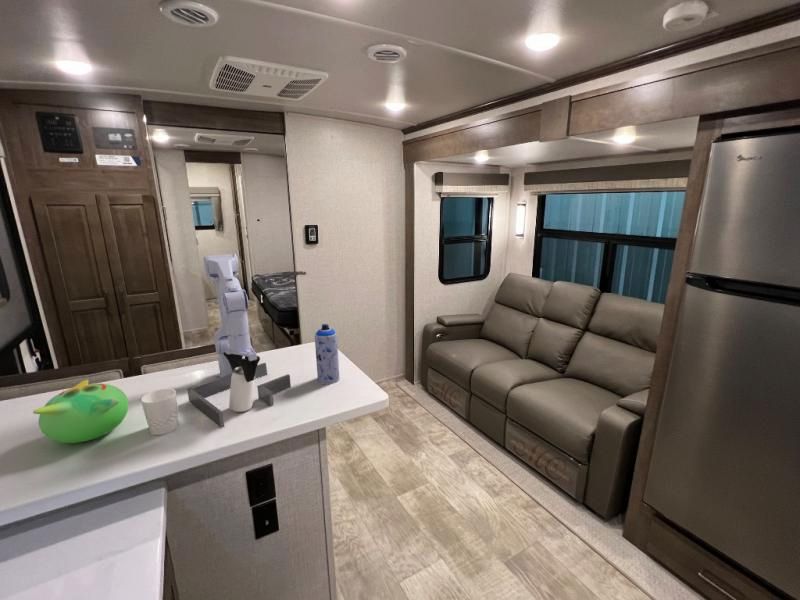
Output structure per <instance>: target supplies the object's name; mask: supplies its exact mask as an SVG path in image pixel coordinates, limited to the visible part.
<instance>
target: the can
mask: <svg viewBox="0 0 800 600" xmlns="http://www.w3.org/2000/svg"><path fill="white" fill-rule="evenodd" d="M255 380H256V379H255V378H254V380H253V381H250V382H247V381H246V379H245V376H244V372H243V369H242V367H241V366H240V367H237V368H235V369H234V372H233V373H232V377H231V388H230V389H229V402H228V403H229V404H228V407H229V409H230V410H231V411H233V412H235V413H244V412H247V411H249V410H250V409H252V407H253V405H254V404H253V403H254V394H255Z"/></svg>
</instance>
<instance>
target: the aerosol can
mask: <svg viewBox="0 0 800 600" xmlns="http://www.w3.org/2000/svg"><path fill="white" fill-rule="evenodd" d="M338 345H339V343H338V333H337V332H336V331H335V330H334V329H333V328H331V327H330V326H329V324H326V323H324V324H322V325H321V327H320V328H319V329H318V330H317V331H316V332H315V334H314V346H315V347H314V348H315V359H316V360H315V361H316V362H315V363H316V374H317V379H316V381H317V382H318V383H319V384H321V385H332V384H333V385H334V384H335V383H337V382H339V381H340V379H341V376H340V364H339V363H340V362H339V347H338Z"/></svg>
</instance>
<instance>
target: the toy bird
mask: <svg viewBox="0 0 800 600" xmlns="http://www.w3.org/2000/svg"><path fill="white" fill-rule="evenodd" d="M128 411H129V400H128V397H127V395H126V394H125V392H124V391H123V390H122V389H120V388H119V387H117V386H115V385H113V384H112V385H111V384H109V383H108V384H107V383H99V382H98V383H97V382H96V383H89V379H85V380H82V381H80V382H79V383H77V384H76V385H75V386H73V387H71V388H68V389H66V390H63V391H61V392H60V393H58V394H56V395H55V396H53V397H52V398H51V399H50V400H48V401H47V402H46V403H45V405H44V406H42V407H40V408H37V409H34V410H33V411H32V413H33V414H35V415H39V416H38V427H39V429H40V431H41V432H42V434H43V435H44V436H45V437H46V438H47V439H50V440H52V441H54V442H56V443H63V444H77V443H83V442H88V441H92V440H95V439H97V438H99V437H102V436H104V435H106V434H108V433H109V432H112V431H113V430H114V429H116V428H117V427H118V426H119V425H120V424H121V423H122V422H123V421H124V420H125V418H126V416H127V414H128Z"/></svg>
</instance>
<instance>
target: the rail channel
mask: <svg viewBox="0 0 800 600" xmlns="http://www.w3.org/2000/svg"><path fill="white" fill-rule="evenodd" d="M265 375H266V376H267V375H268V370H267V363H266V362H262V363H260V364H259V363H258V365H257V367H256V372H255V380H257V379H259V378H258V377H260V378H263V377H265ZM262 376H263V377H262ZM231 377H232V374H230V375H227V376H224V377H218V378H216V379H213V380H209V381H206V382H204V383H201V384H199V385H194V386H192V387H189V388H186V391H187V396H188V402H189V403H190V404H191V405H192V406H194V408H196V409H197V410H198V411H199V412H200V413H202V414H203V415H204V416H206V418H207V419H209V420H210V421H212V422H213V423H214V424H215V425H216V426H218V428H220V429H222V427H223V428H225V420H224V413H223V411H222V410H221V409H220V408H218V407H216V406H215V405H214V404H212V403H211V402H210V401H209V400H207V399H206V398H209V397H211V396H214V395H217V394H220V393H222V392H225V391H227V389H228V390H230V389H229V388H231ZM256 378H257V379H256ZM291 385H292V383H291V376H290V374H289V373H287V374H285V375H282V376H279V377H278V378H275V379H272V380H269V381H267V382H263V383H261V384H259V385H256V387H257V395H258V400H260V401H261V402H262V403H265V404H266V405H268V406H269V407H272V406H274V397H273V396H274V395H276V394H279V393H281V392H283V391H286V390H287V389H290V388H292V386H291ZM224 390H225V391H224ZM219 392H220V393H219Z"/></svg>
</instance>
